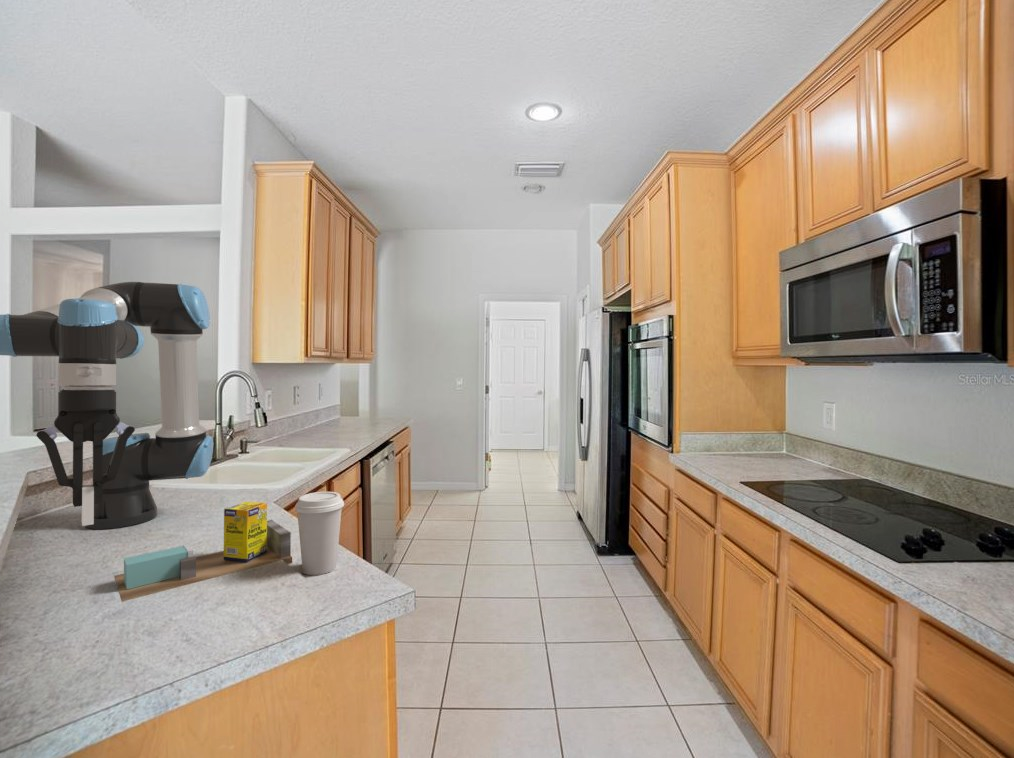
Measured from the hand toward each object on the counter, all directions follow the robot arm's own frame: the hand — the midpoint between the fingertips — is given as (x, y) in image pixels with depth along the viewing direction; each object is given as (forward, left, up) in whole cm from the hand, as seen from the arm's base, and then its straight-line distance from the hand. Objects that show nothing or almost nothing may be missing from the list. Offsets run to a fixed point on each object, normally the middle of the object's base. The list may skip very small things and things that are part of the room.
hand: (87, 523), depth 81 cm
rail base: (0, +18, -14) cm, 23 cm away
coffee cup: (+14, +35, -14) cm, 40 cm away
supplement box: (0, +25, -13) cm, 28 cm away
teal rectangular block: (0, +10, -13) cm, 16 cm away
